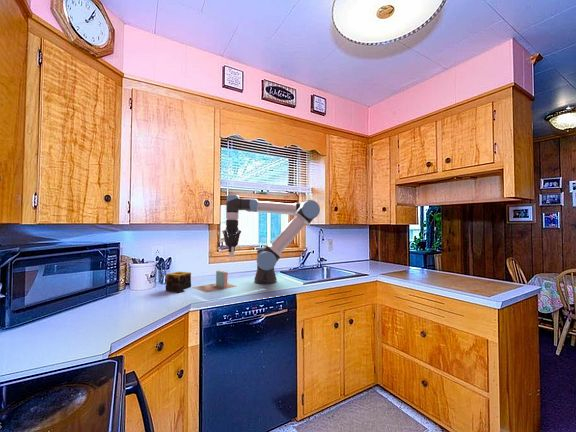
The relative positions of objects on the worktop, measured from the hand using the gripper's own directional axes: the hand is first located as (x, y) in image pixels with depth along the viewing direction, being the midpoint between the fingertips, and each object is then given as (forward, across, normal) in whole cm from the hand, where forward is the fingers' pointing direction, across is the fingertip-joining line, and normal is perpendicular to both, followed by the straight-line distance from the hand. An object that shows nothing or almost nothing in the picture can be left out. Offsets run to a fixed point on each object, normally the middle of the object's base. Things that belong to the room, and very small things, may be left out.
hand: (231, 257), depth 165 cm
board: (+18, +10, -2) cm, 21 cm away
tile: (+17, +7, 0) cm, 18 cm away
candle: (+19, +27, -14) cm, 35 cm away
